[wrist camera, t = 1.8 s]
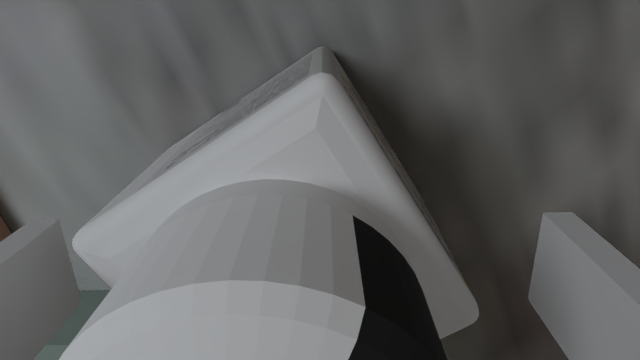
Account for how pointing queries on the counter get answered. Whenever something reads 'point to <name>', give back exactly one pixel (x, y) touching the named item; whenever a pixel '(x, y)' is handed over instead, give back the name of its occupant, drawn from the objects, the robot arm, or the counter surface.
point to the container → (274, 240)
